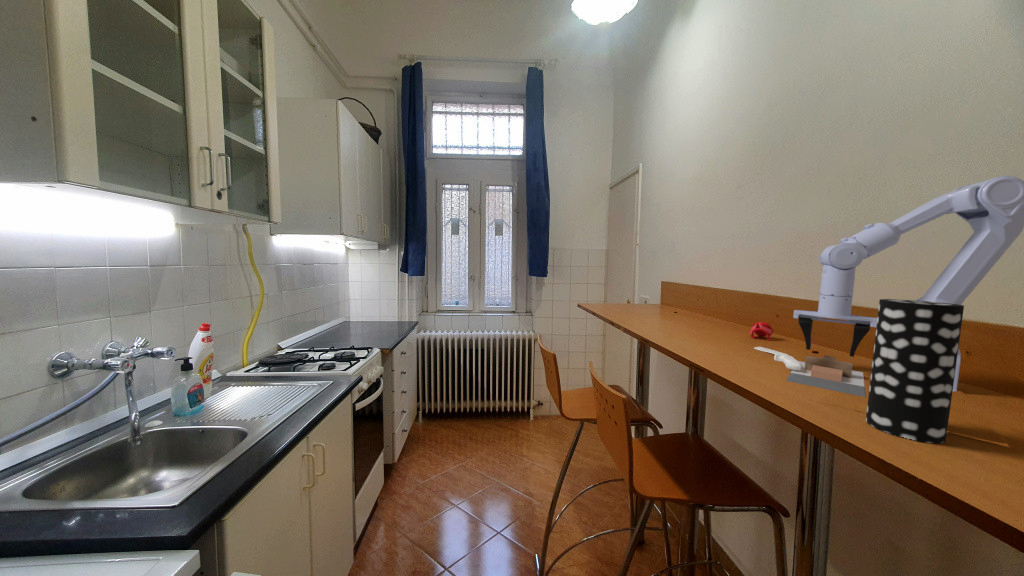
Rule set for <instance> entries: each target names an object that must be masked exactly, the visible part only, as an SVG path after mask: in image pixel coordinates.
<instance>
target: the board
mask: <svg viewBox="0 0 1024 576" xmlns="http://www.w3.org/2000/svg"><path fill="white" fill-rule="evenodd" d="M797 361H798V362H799V363H800V364H801V366H802V368H801V369H800V370H792V369H791V371H790V373H789V375H788V376H787V378H786V380H785V382H790V383H796V384H800V385H806V386H810V387H814V388H818V389H819V388H820V389H823V390H829V391H834V392H839V393H843V394H848V395H853V396H857V397H862V398H863V397H864V398H866V390H865V389H866V388H865V377H864V372H863V371H858V370H853V369H852V375H851V378H847V377H842V380H841V382H837V381H832V380H827V379H822V378H817V377H811V371H809V370H804V369H805V361H799V360H797Z"/></svg>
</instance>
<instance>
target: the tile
mask: <svg viewBox="0 0 1024 576" xmlns="http://www.w3.org/2000/svg"><path fill="white" fill-rule="evenodd" d="M842 371H843V370H839V369H834V368H828V367H822V366H816V365H813V367H812V369H811V377H817V378H822V379H827V380H832V381H837V382H841V380H842Z"/></svg>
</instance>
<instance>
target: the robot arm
mask: <svg viewBox="0 0 1024 576" xmlns="http://www.w3.org/2000/svg"><path fill="white" fill-rule="evenodd" d="M950 214H956V215H957V216H958V217H960V218H961V219H963V220H964V221H965V222H966V223H967V224H969V226H970V227H971V229H972V230H973V233H972V234H971V235H970V237H969V238H968V239H967V241H966V242H965V243H964V244H963V245H962V247H961V248H960V249H959V251H958V252H957V253H956V254H955V255H954V257H953V258H952V259H951V260H950V262H948V264H947V265H946V267H945V268H944V270H942V272H941V273H940V274H939V275H938V276H937V278H936V280H934V282H933V283H932V284H931V286H930V287H929V288H928V289H927V290H926V292H925V293H924V294H923V295H922V296H921V297H920V298H917V299H915V301H929V302H940V303H950V304H958V305H962V304H963V303H964V302H965V301H966V300H967V298H968V297H969V296H970V294H972V292H973V291H974V290H975V289H976V287H977V286H978V285H979V284H980V283H981V281H983V279H984V278H985V277H986V275H987V274H988V273H989V272H990V270H991V269H993V267H994V266H995V265H996V263H998V261H999V260H1000V259H1001V258H1002V256H1003V255H1004V254H1005V253H1006V251H1007V250H1008V249H1009V248H1010V247H1011V246H1012V244H1014V242H1015V241H1016V239H1018V237H1019V236H1020V235H1021V234H1022V232H1023V230H1024V180H1023V179H1022V178H1020V177H1017V176H1013V175H1001V176H997V177H994V178H991V179H988V180H984V181H980V182H976V183H973V184H966V185H962V186H959V187H958V188H955V189H954V190H951V191H948V192H945V193H943V194H941V195H939V196H937V197H935V198H933V199H931V200H929V201H927V202H925V203H923V204H922V205H920V206H918V207H916V208H914V209H913V210H911V211H909V212H907V213H905V214H904V215H901V216H900V217H898V218H897V219H894V220H893V221H891V222H889V223H886V222H885V223H884V222H877V223H874V224H873V223H868V224H866V225H864V226H863V227H862V228H863V230H861V231H859V232H857V233H855V234H853V235H851V236H849V237H843V238H841V239H840V243H839V244H832V245H829V246H827V247H826V248H824V249H823V252H821V254H820V255H819V256H818V260H819V262H820V264H821V266H822V273H821V278H820V280H821V281H820V289H819V297H818V304H817V305H818V306H817V307H818V308H817V311H812V310H802V309H801V310H798V309H794V310H793V319H796V320H797V319H798V320H797V321H798V325H799V327H800V329H801V331H802V333H803V337H804V341H805V350H808V351H810V350H811V348H812V347H811V346H812V331H813V323H814V321H817V322H818V321H819V322H829V323H835V324H836V323H837V324H848V325H854V326H853V334H852V342H851V346H850V349H849V357H851V358H852V357H853V358H854V357H855V353H856V351H857V350H858V349H857V348H858V346H859V345H860V343H861V341H862V340H863V339H864V338H865V337H866V335H867V334H868V333H869V331H870V330H871V328H876V327H877V318H878V317H872V316H871V317H870V316H864V315H863V316H862V315H855V314H852V308H853V307H852V306H853V296H854V288H855V287H854V286H855V279H856V277H855V276H856V268H857V267H858V266H860V265H861V264H862V262H863V260H866V259H868V258H871V257H872V256H874V255H876V254H878V253H880V252H883V251H884V250H886V249H889V248H890V247H892V246H894V245H896V244H898V243H899V241H900V238H901V235H903V234H906V233H908V232H910V231H912V230H914V229H916V228H919V227H920V226H923V225H925V224H927V223H930V222H932V221H934V220H936V219H938V218H941V217H943V216H944V215H950ZM961 356H962V355H961V350H960V348H958V355H957V362H956V369H955V377H954V384H953V391H952V392H955V393H957V392H958V383H959V375H960V369H961V368H960V367H961V358H962V357H961Z"/></svg>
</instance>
